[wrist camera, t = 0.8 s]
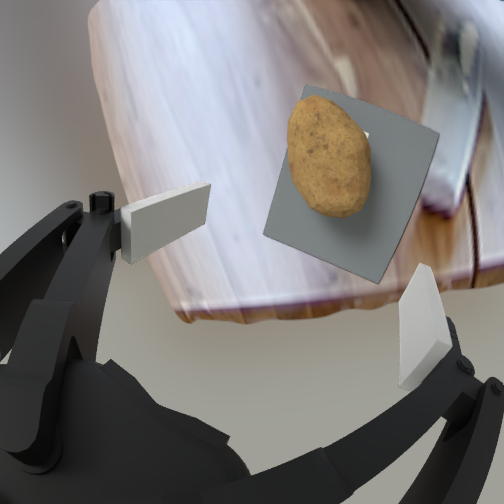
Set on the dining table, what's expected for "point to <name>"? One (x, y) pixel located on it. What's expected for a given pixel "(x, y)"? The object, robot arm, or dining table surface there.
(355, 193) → the potato
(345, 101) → the tile
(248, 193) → the dining table surface
